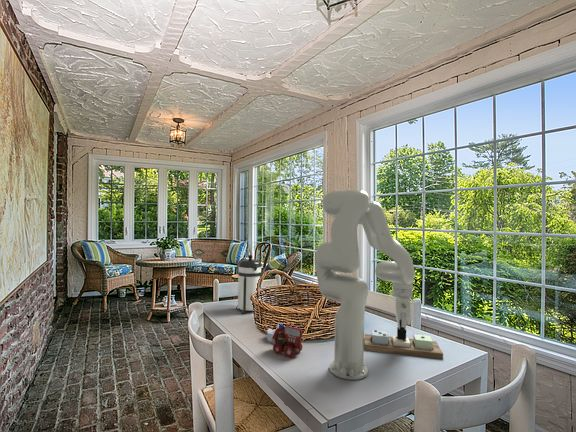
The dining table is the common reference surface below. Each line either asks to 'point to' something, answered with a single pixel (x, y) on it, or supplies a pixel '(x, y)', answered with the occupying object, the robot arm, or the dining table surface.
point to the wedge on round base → (271, 333)
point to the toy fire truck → (287, 340)
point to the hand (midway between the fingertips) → (401, 338)
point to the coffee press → (247, 282)
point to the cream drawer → (400, 342)
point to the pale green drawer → (423, 341)
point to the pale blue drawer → (379, 337)
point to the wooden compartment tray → (402, 348)
